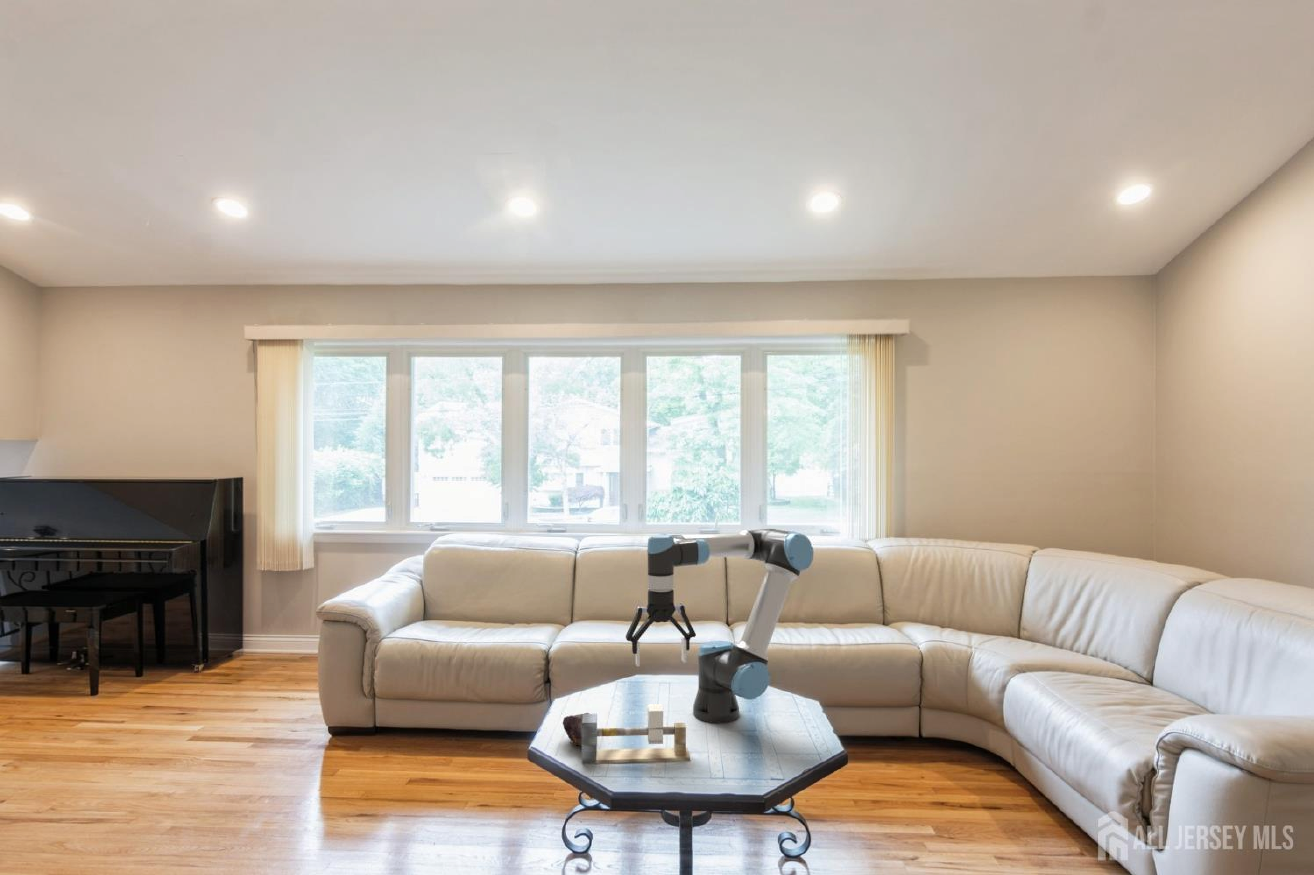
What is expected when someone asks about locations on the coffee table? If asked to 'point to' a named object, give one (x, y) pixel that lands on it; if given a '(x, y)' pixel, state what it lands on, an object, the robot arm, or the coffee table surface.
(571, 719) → the rock
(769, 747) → the coffee table surface
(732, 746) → the coffee table surface
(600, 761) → the rail
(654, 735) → the sleeve
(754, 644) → the robot arm
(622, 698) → the coffee table surface
